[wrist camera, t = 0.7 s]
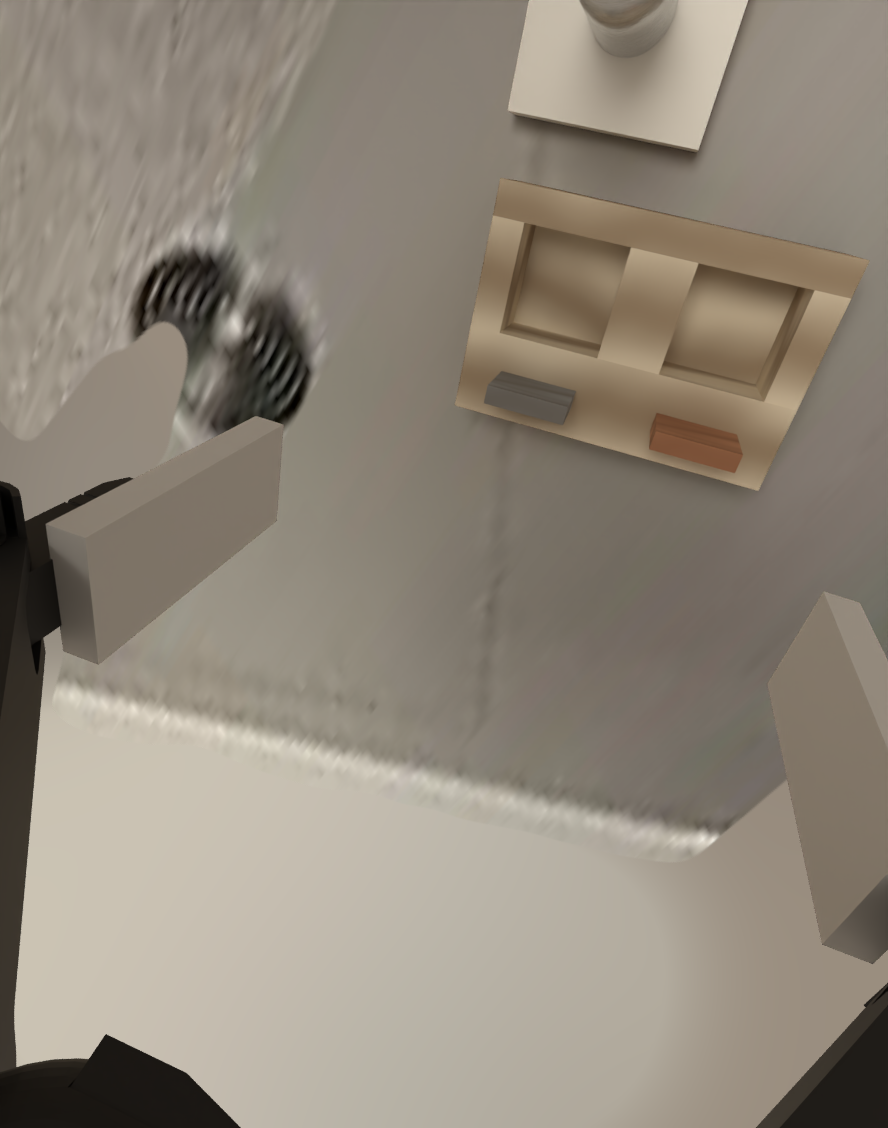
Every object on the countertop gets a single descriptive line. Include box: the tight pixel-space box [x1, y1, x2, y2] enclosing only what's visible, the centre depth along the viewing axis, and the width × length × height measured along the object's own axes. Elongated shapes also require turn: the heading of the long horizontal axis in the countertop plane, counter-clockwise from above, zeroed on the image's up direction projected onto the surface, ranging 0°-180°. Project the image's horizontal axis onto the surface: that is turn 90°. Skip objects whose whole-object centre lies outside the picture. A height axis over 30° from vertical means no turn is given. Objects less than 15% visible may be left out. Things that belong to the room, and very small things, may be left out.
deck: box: [507, 0, 748, 153], centre depth 32 cm, size 10×10×2 cm
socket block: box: [455, 178, 869, 491], centre depth 36 cm, size 12×18×8 cm, turn 79°
